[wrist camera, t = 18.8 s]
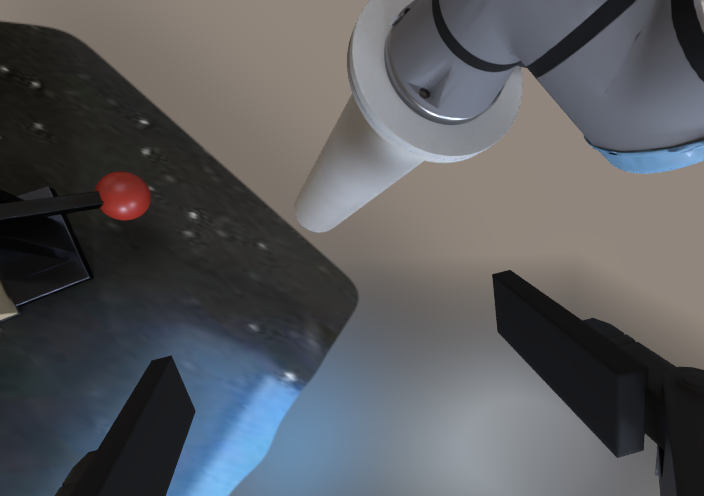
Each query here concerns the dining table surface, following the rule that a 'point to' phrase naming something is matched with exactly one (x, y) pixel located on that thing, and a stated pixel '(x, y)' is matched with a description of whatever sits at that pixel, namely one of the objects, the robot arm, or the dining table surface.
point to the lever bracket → (39, 253)
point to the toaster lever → (87, 201)
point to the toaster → (7, 304)
